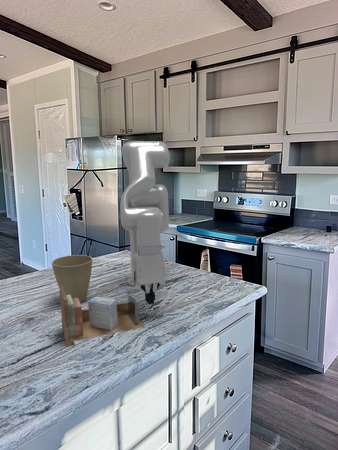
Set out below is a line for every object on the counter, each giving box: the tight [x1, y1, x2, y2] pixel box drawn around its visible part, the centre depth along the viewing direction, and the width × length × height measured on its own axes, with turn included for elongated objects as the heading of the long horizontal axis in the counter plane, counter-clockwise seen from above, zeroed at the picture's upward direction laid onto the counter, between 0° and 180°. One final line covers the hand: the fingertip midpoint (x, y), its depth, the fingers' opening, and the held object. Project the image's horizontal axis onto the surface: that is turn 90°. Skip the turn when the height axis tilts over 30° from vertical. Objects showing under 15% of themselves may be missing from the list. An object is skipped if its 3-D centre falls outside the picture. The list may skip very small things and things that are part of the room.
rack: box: [58, 286, 146, 347], centre depth 111 cm, size 24×12×14 cm, turn 113°
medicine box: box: [87, 296, 118, 330], centre depth 112 cm, size 8×4×9 cm, turn 68°
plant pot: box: [51, 254, 93, 303], centre depth 135 cm, size 15×15×16 cm
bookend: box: [127, 295, 140, 325], centre depth 116 cm, size 1×8×7 cm, turn 23°
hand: (150, 302), depth 118 cm, fingers closed
